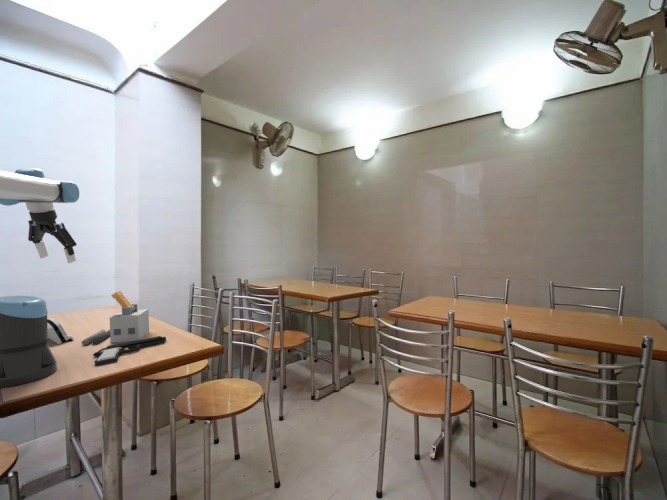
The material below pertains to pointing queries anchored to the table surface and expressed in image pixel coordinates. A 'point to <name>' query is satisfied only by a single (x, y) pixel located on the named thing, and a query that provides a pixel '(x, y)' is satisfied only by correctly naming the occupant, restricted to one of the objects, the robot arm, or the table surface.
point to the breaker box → (129, 325)
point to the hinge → (56, 331)
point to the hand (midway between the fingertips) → (58, 259)
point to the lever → (122, 300)
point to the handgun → (124, 349)
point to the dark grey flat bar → (96, 337)
